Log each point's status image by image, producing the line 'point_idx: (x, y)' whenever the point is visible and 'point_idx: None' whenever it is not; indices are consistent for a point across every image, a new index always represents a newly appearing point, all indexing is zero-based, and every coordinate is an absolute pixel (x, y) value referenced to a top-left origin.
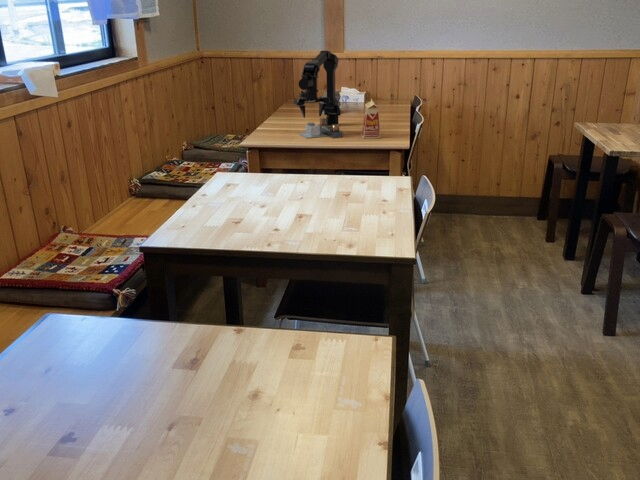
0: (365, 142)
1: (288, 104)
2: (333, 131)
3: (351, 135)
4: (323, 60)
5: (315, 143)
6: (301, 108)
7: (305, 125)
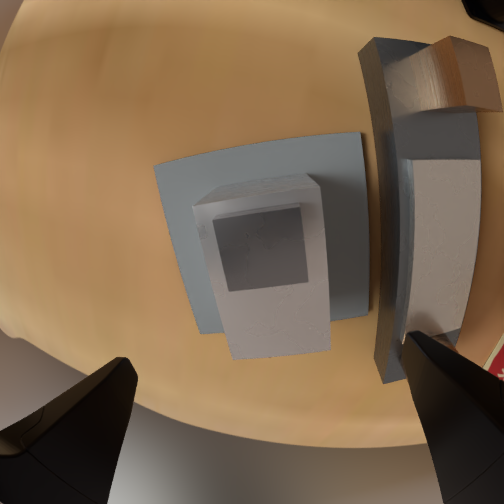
0: None
1: None
2: (402, 369)
3: (489, 310)
4: None
5: (235, 418)
6: (30, 454)
7: (197, 208)
